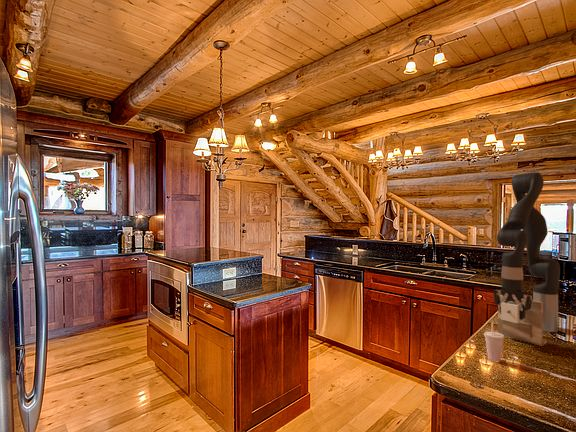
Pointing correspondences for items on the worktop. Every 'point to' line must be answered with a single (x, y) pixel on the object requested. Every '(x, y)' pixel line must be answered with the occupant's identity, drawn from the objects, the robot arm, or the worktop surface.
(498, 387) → the worktop surface
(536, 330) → the cleat board
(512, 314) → the wall box
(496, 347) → the smoothie
